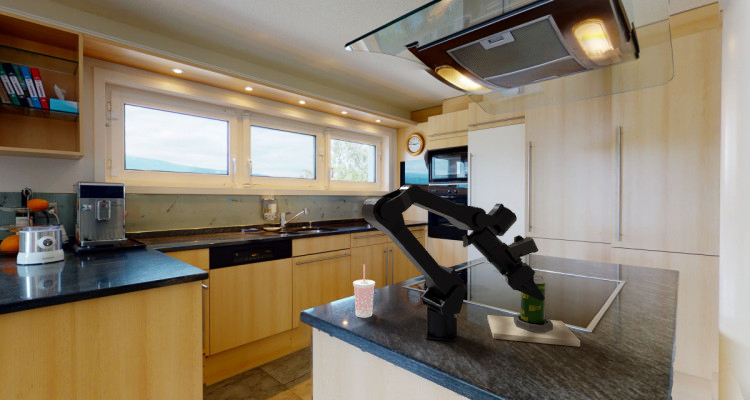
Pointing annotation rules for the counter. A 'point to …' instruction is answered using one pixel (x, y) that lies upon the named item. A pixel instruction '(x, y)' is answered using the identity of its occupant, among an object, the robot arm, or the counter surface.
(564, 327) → the board with grey ring
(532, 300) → the beer can
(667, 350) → the counter surface
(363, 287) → the beverage cup
